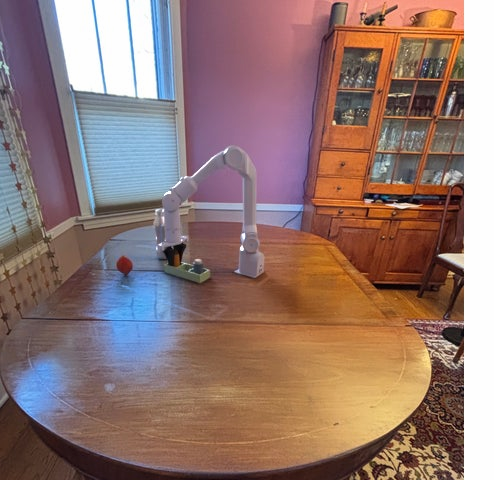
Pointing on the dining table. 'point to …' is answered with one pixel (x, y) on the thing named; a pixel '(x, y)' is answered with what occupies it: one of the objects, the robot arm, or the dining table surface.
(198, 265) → the slate spice bottle
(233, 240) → the dining table surface
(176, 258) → the amber spice bottle
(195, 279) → the bottle holder
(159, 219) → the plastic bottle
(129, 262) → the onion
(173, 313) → the dining table surface
